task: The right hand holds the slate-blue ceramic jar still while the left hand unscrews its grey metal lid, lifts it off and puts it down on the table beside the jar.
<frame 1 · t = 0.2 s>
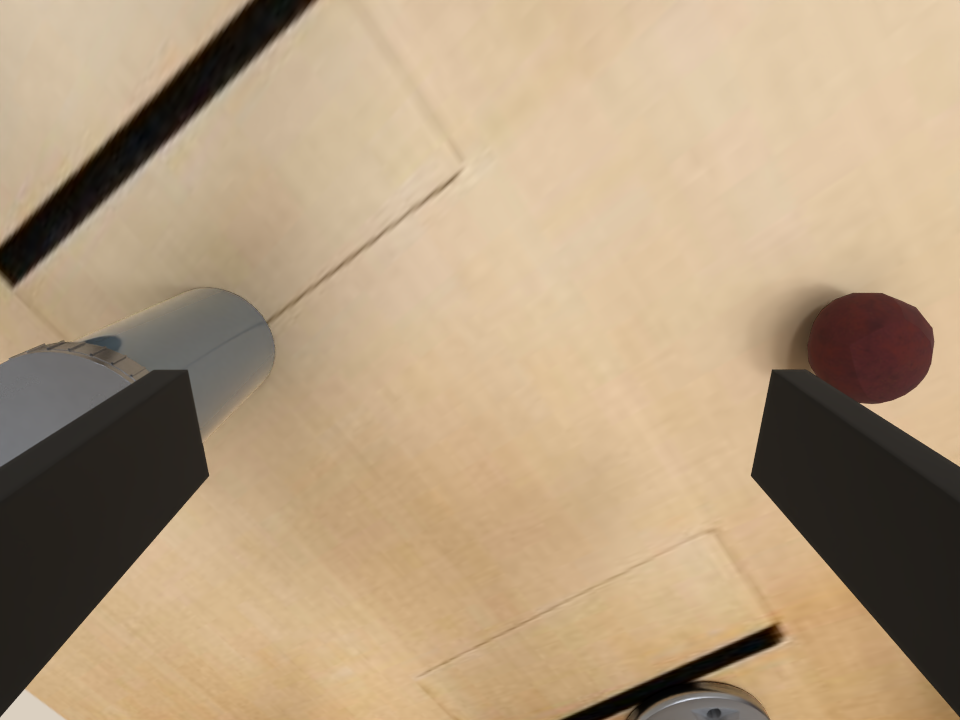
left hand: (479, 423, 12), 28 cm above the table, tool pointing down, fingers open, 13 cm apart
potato: (834, 330, 41), on the table
lid: (78, 439, 27), point 15 cm above the table, screwed on, not yet turned
jar: (216, 344, 41), on the table
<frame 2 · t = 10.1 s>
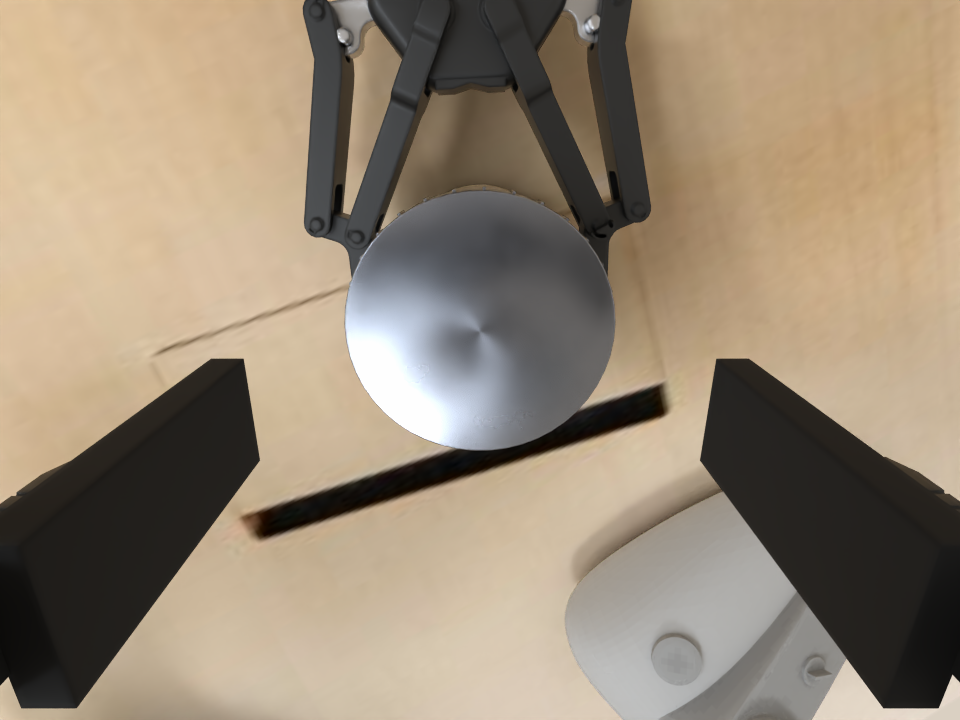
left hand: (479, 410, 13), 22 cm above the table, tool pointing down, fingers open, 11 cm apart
right hand: (483, 364, 29), fingers closed on jar, 9 cm apart
lid: (479, 329, 19), point 15 cm above the table, screwed on, not yet turned
projector: (716, 558, 41), on the table
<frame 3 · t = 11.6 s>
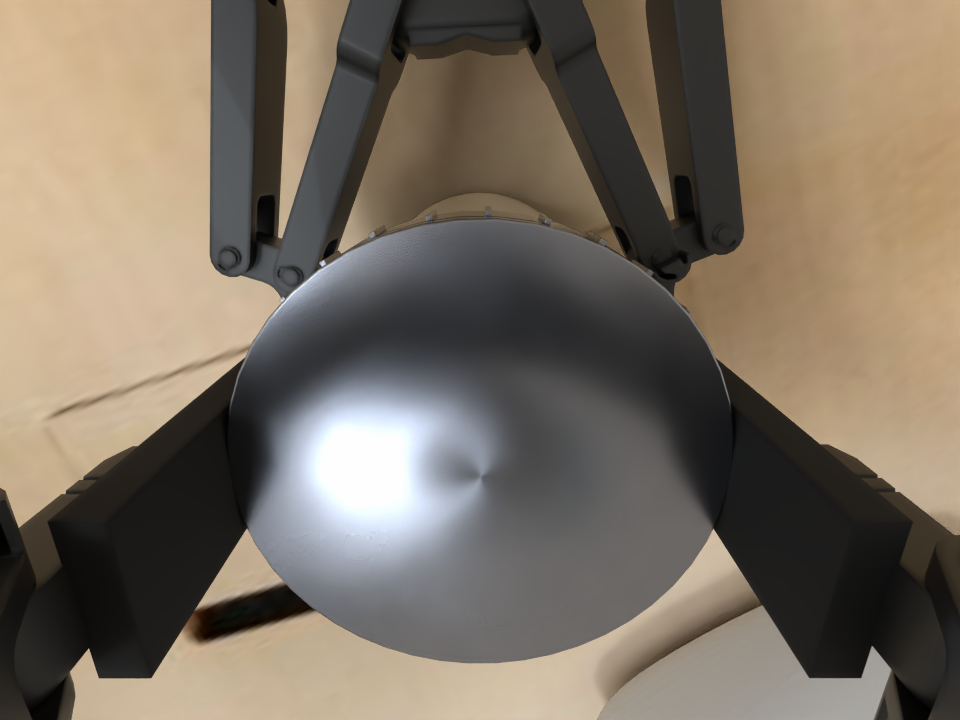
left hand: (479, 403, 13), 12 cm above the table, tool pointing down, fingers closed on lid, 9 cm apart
lid: (480, 467, 11), point 15 cm above the table, screwed on, not yet turned, touching left hand
projector: (780, 665, 33), on the table
jar: (480, 292, 25), on the table, touching right hand
when the left hand's fingers open (12 cm above the table, at t = 13.4 s): lid stays where it is, point 15 cm above the table.
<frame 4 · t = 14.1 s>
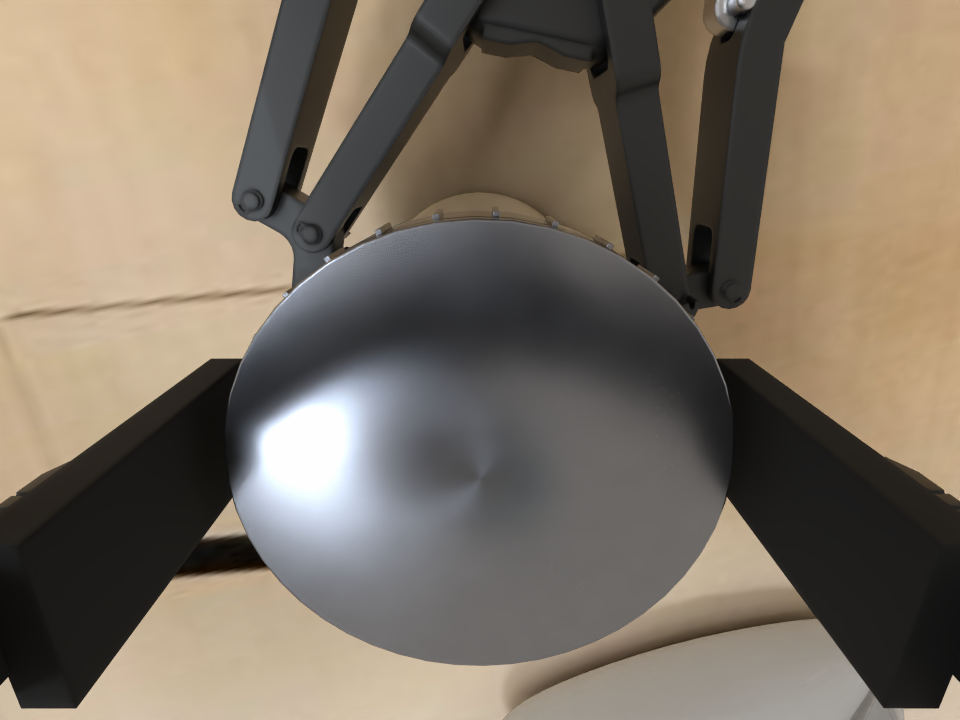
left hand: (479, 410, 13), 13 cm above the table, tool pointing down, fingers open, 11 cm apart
lid: (479, 468, 11), point 15 cm above the table, turned 107° so far, risen 0.3 cm, still on its thread
projector: (677, 703, 34), on the table
jar: (479, 291, 25), on the table, touching right hand
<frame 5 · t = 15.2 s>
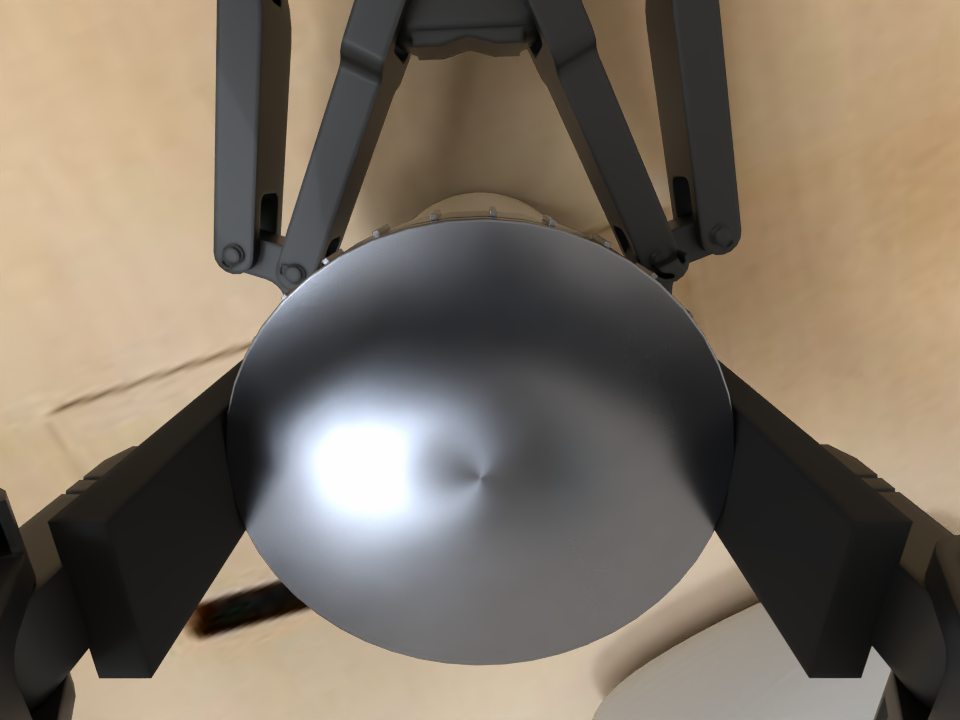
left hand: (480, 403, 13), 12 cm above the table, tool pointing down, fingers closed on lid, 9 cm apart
lid: (480, 468, 11), point 15 cm above the table, turned 107° so far, risen 0.3 cm, still on its thread, touching left hand
projector: (776, 663, 33), on the table
jar: (480, 291, 25), on the table, touching right hand
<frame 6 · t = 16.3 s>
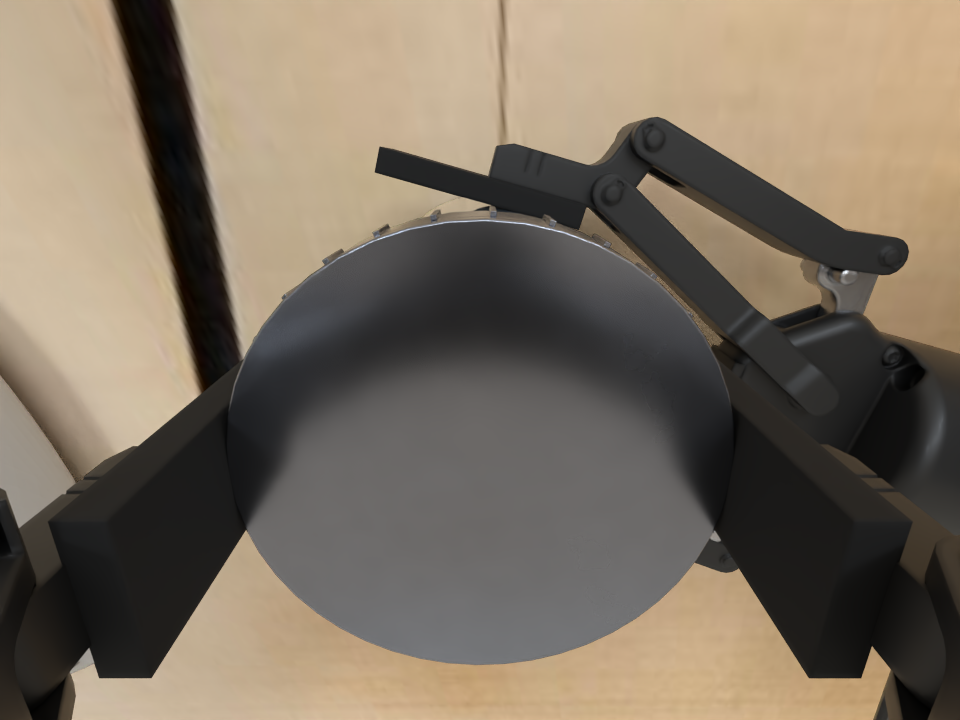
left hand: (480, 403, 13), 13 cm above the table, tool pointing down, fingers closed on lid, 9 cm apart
lid: (480, 468, 11), point 16 cm above the table, off its thread, touching left hand
jar: (482, 291, 26), on the table, touching right hand
when the left hand's fingers open (0 cm above the table, at t = 21.9 s): lid drops 2 cm, point 1 cm above the table.
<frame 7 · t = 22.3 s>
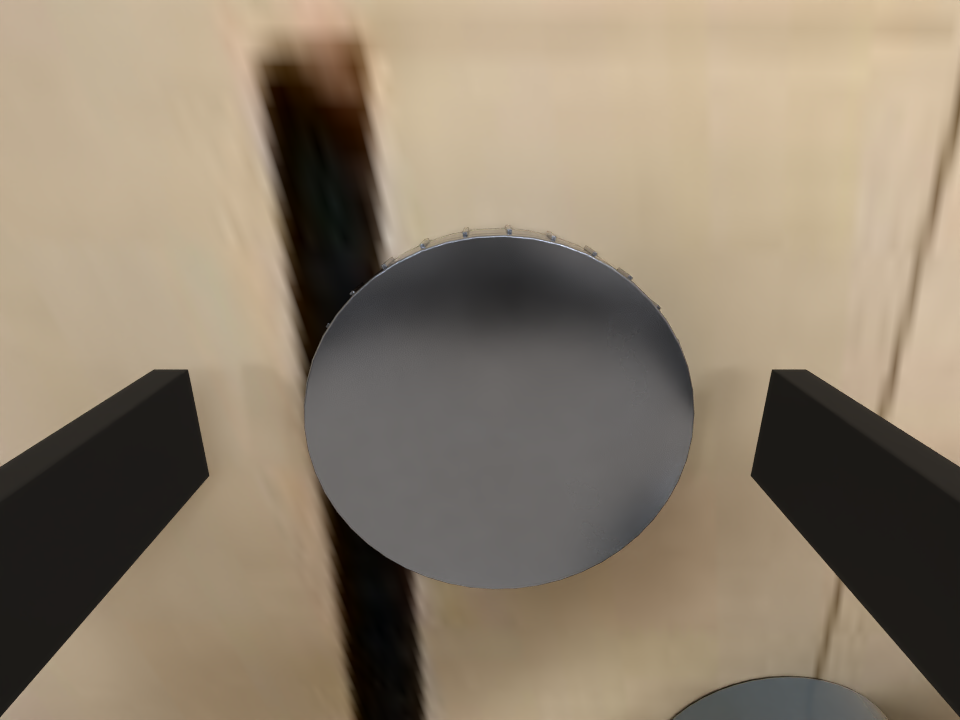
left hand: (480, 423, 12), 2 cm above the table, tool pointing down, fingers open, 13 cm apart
lid: (497, 426, 14), point 1 cm above the table, off its thread
when the right hand's fingers open (7 cm above the table, at t = 22.8 s): jar stays where it is, on the table.
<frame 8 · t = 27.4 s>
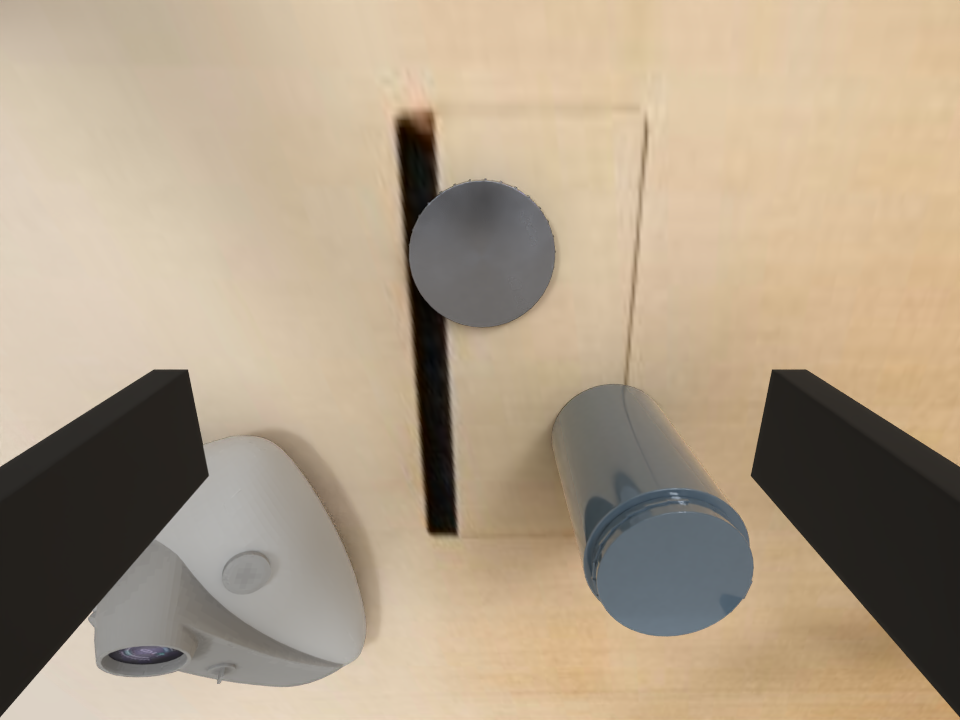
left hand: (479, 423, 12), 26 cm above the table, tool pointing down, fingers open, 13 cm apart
lid: (482, 256, 36), point 1 cm above the table, off its thread
projector: (270, 546, 45), on the table
jar: (608, 436, 42), on the table
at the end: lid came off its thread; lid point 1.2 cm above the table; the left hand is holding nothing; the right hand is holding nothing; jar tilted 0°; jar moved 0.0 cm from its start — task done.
